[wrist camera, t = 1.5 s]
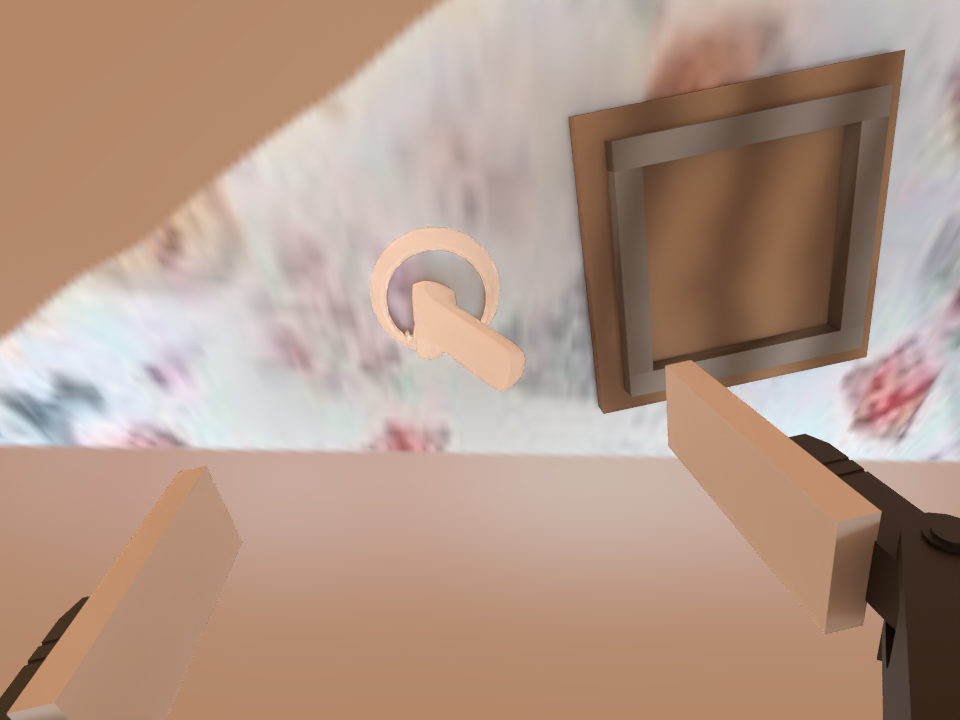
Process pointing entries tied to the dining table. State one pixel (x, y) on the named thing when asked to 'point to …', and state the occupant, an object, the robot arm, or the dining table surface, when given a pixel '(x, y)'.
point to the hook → (449, 309)
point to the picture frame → (735, 226)
